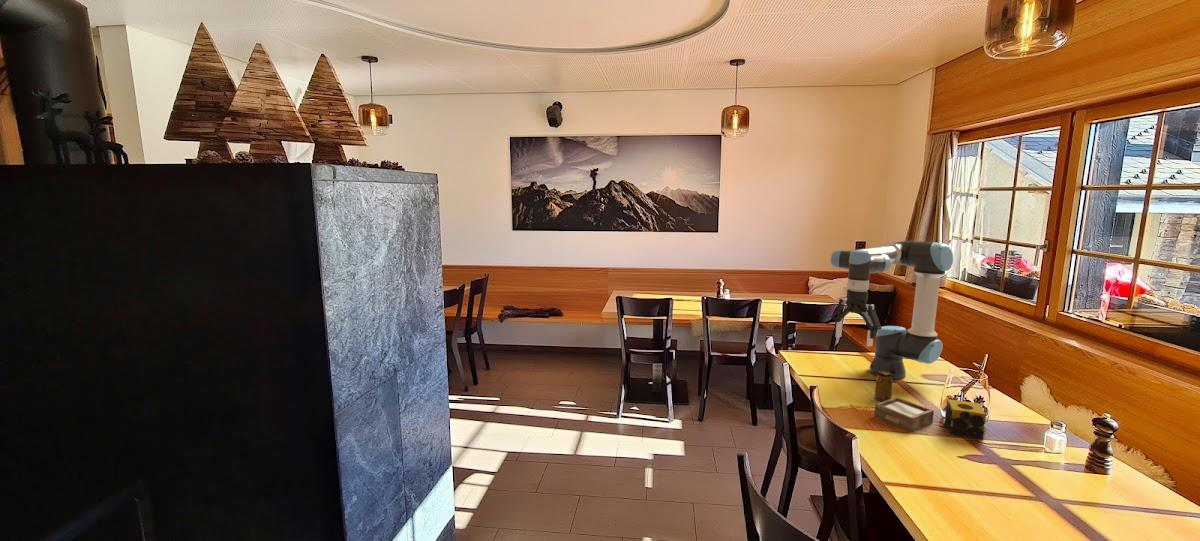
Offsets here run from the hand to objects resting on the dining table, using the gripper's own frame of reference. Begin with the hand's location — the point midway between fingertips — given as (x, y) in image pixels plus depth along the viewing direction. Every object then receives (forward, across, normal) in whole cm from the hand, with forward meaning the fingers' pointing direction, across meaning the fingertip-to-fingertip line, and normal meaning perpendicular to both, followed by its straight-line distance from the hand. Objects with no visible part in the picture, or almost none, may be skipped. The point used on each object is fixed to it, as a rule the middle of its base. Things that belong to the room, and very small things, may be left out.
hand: (853, 341), depth 197 cm
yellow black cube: (+28, +34, +16) cm, 47 cm away
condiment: (+28, +4, +17) cm, 33 cm away
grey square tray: (+27, +18, +6) cm, 34 cm away
